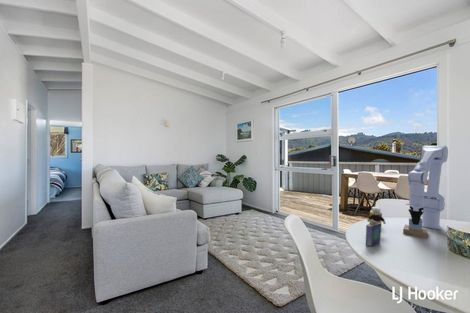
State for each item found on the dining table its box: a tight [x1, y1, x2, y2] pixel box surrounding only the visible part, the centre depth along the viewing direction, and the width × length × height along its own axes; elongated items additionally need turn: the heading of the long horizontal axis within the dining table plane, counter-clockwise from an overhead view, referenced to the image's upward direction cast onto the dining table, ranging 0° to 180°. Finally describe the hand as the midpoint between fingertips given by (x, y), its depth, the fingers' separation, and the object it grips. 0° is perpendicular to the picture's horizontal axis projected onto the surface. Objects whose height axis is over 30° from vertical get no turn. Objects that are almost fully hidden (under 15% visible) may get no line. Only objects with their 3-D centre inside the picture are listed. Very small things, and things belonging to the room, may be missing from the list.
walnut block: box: [402, 224, 429, 239], centre depth 114 cm, size 9×9×3 cm
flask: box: [365, 219, 382, 247], centre depth 100 cm, size 9×3×11 cm, turn 121°
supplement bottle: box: [368, 206, 383, 224], centre depth 124 cm, size 6×6×10 cm
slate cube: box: [408, 216, 423, 231], centre depth 114 cm, size 5×5×5 cm
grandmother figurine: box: [367, 208, 386, 225], centre depth 113 cm, size 8×4×13 cm, turn 68°
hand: (415, 222), depth 114 cm, fingers open, 7 cm apart
